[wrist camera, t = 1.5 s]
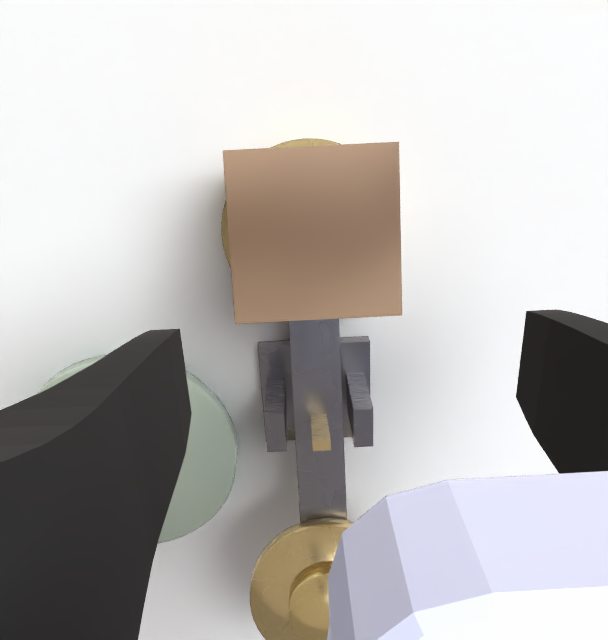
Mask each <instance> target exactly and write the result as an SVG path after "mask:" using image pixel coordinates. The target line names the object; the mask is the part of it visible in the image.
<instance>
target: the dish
mask: <svg viewBox="0 0 608 640" xmlns="http://www.w3.org/2000/svg"><path fill="white" fill-rule="evenodd" d="M105 356H106V355H104V356H98V357H94V358H89V359H86V360H83V361H80V362H78V363H75V364H73V365H71V366H69V367H67V368H66V369H64V370H62V371H60V372H59V373H58V374H56V375H55V376H54V377H52V378H51V379H50V380H49V381H48V382H47V383H46V384H45V385H44V386H43V387H42V389H41V390H40V391H39V392H38V393H40V392H43V391H45V390H47V389H49V388H51V387H52V386H54V385H56V384H58V383H60V382H62V381H63V380H65V379H67V378H69V377H70V376H72V375H74V374H76V373H78V372H79V371H81V370H83V369H85V368H86V367H88V366H90V365H92V364H93V363H95V362H97V361H98V360H100V359H101V358H103V357H105ZM186 377H187V384H188V391H189V398H190V405H191V412H192V415H191V422H190V429H189V436H188V442H187V448H186V453H185V457H184V460H183V464H182V467H181V470H180V473H179V477H178V480H177V483H176V486H175V489H174V492H173V496H172V499H171V502H170V505H169V508H168V511H167V514H166V518H165V521H164V524H163V527H162V530H161V533H160V536H159V540H158V543H162V542H166V541H170V540H173V539H176V538H179V537H182V536H184V535H186V534H189V533H191V532H193V531H194V530H196V529H198V528H199V527H201V526H202V525H204V524H205V523H206V522H207V521H209V520H210V519H211V518H212V517H213V516H214V515H215V514H216V513H217V512H218V511H219V509H220V508H221V507H222V505H223V504H224V502H225V501H226V499H227V497H228V495H229V493H230V490H231V487H232V484H233V481H234V475H235V468H236V460H237V439H236V434H235V430H234V427H233V424H232V421H231V419H230V417H229V415H228V413H227V411H226V409H225V407H224V406H223V405H222V403H221V402H220V400H219V399H218V398H217V396H216V395H215V394H214V393H213V392H212V391H211V390H210V389H209V388H208V387H207V386H206V385H204V384H203V383H202V382H201V381H200V380H198V379H197V378H196V377H194V376H193V375H191V374H189V373H188V372H186Z"/></svg>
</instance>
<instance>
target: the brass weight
mask: <svg viewBox="0 0 608 640" xmlns="http://www.w3.org/2000/svg"><path fill="white" fill-rule="evenodd" d="M332 563H333V561H323V562H318V563H315V564H312V565H310V566H308V567H306V568H305V569H303V570H302V571H301V572H300V573H299V574H298V575H297V576H296V577H295V579H294V580H293V582H292V584H291V587H290V591H289V622H290V625H291V627H292V630H293V631H294V633H295V634H296V636H297V637H298V638H299V639H300V640H327V636H328V629H329V598H328V575H329V572H330V569H331V566H332Z"/></svg>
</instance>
